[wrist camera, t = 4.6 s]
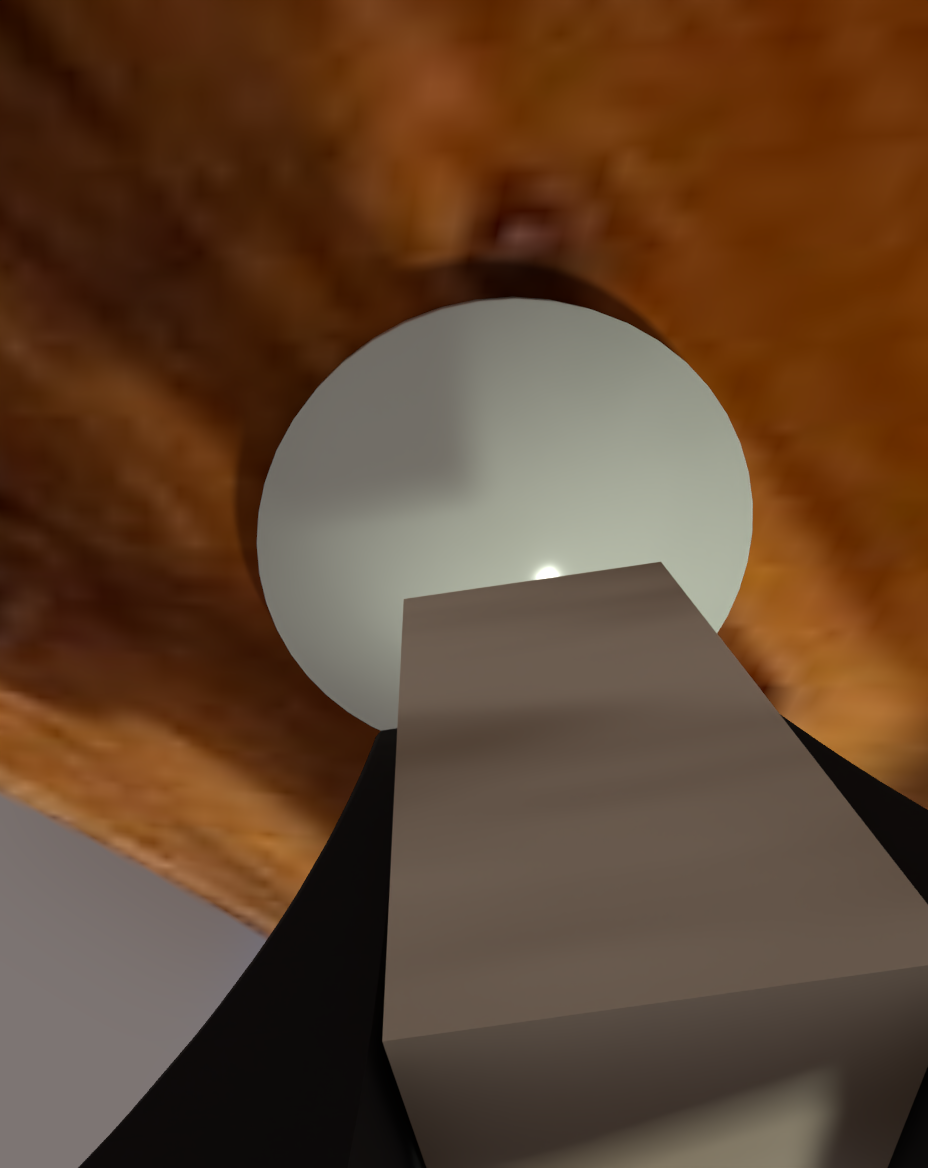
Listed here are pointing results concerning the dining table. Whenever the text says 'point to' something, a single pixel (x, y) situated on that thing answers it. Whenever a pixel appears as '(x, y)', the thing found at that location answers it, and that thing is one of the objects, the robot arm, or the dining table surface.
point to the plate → (491, 480)
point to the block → (632, 900)
